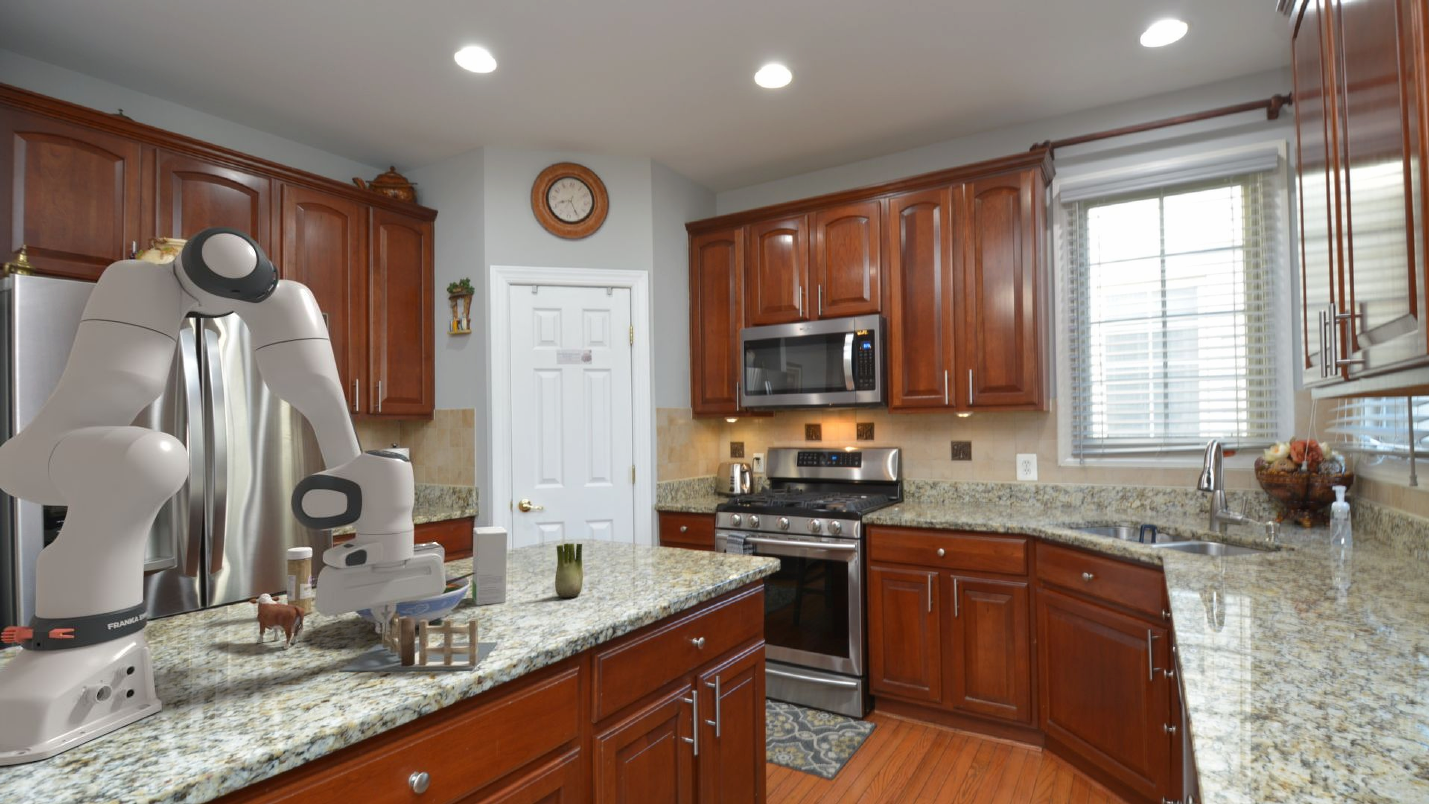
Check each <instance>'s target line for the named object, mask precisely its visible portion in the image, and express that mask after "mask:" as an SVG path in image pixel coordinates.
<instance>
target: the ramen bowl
mask: <svg viewBox="0 0 1429 804" xmlns="http://www.w3.org/2000/svg"><path fill="white" fill-rule="evenodd" d="M473 574H475V573H474V572H473V571H472V572H471V573H467V574H465V575H459V574H458V575H457V574H449V573H445V580H446V588H445V590H444V592H443V593H442V594H441V595H439V596H433V597H428V598H423V599H418V600H412V601H407V602H402V603H396V611H395V612H399V617H404V616H406V617H408V618H415V629H417V628H419V621H421V620H422V619H428V624H429V623H431V622H432V621H436V620H437V619H439V618H442V617H443V616H445V615H447V614H448V613H450V612H451V611H453V610H454V609H455V608H456V607H457V606H458V605H459V604H460V602H461V601H462V600H463V598H464V597H465V595H466V594H467V591H468V589H469V587H470V586H471V579H470V578H468V577H470V576H471V577H472V576H473ZM354 612H356V613H357V615H358V616H360V617H362V618H363V619H364V620H366V621H367V622H370V623H373V624H375V623H376V621H377V620H376V619H375V617H374V616H373V614H372V613H371V608H370V609H365V610H360V611H354ZM381 614H382V613H381Z"/></svg>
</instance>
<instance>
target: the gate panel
mask: <svg viewBox="0 0 1429 804" xmlns="http://www.w3.org/2000/svg"><path fill="white" fill-rule="evenodd" d="M383 614H384V612H383V613H382V616H383ZM405 618H408V617H406V616H404V617H399V612H395V613H394V615H393V616H392V618H391V620H390V621H391V626H390V627H391V631H389V632H385V633H381V638H382V639H381V644H382V647H383V648H387V647H390V653H397V652H398V658H399V659H401V620H402V619H405Z"/></svg>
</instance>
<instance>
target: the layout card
mask: <svg viewBox="0 0 1429 804" xmlns="http://www.w3.org/2000/svg"><path fill="white" fill-rule="evenodd" d="M497 645H498V642H496V641H495V642H494V641H493V642H491V641H490V642H489V641H488V642H487V641H486V642H485V641H484V642H478V663H477V664H476V665H469V654H453V663H452V664H451V665H444V654H440V655H428V664H426V665H419V642H418V643H417V642H415V664H414V665H412V666H401V659H399V658H398V652H397V653H390V647H387V648H383V647H382V643H377V644H375V645H374V646H371V648H369V649H367V650H366V651H365V652H363V653H362V654H360V655H359V656H357V657H356V658H354V659H353V660H351V661H350V662H348V663H347V664H345V665H344V666H342V667H341V668H339V670H338V672H339V673H340V672H347V673H348V672H349V673H351V672H411V671H412V672H414V671H415V672H418V671H419V672H422V671H424V672H426V671H427V672H429V671H434V672H435V671H437V672H438V671H440V672H441V671H474V669H475V668H477V666H478V665H479V664H480V663H481V662H482V661H483V660H484V659H485V657H486V656H488V655H489V653H491V652H492V650H493V649H494V648H495V647H496V646H497ZM433 646H444V642H428V647H433ZM453 646H469V642H453Z"/></svg>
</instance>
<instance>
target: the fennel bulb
mask: <svg viewBox="0 0 1429 804" xmlns="http://www.w3.org/2000/svg"><path fill="white" fill-rule="evenodd" d="M575 549H576V550H575ZM582 555H583V543H576V548H575V543H564V544H557V545H556V557H557V558H556V559H557V560H556V561H557V567H556V571H555V580H554V588H555V589H554V591H555V592H556V595H557V596H558V597H560V598H564V599H565V598H574V597H578V596H580V594H581V591H582V588H583V580H584V572H583V571H584V570H583V556H582Z"/></svg>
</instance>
